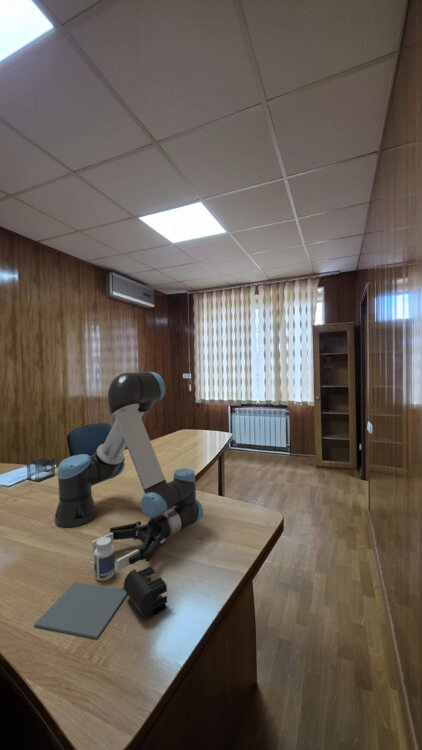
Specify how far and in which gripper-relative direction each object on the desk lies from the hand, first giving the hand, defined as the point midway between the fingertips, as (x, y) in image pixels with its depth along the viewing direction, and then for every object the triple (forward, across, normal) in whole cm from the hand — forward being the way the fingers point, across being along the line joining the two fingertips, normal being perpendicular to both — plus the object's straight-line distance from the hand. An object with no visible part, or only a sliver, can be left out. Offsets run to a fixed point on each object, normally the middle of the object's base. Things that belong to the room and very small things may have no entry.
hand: (104, 555), depth 87 cm
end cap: (-1, -17, -6) cm, 18 cm away
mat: (+9, -7, -6) cm, 13 cm away
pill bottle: (0, 0, -6) cm, 6 cm away
